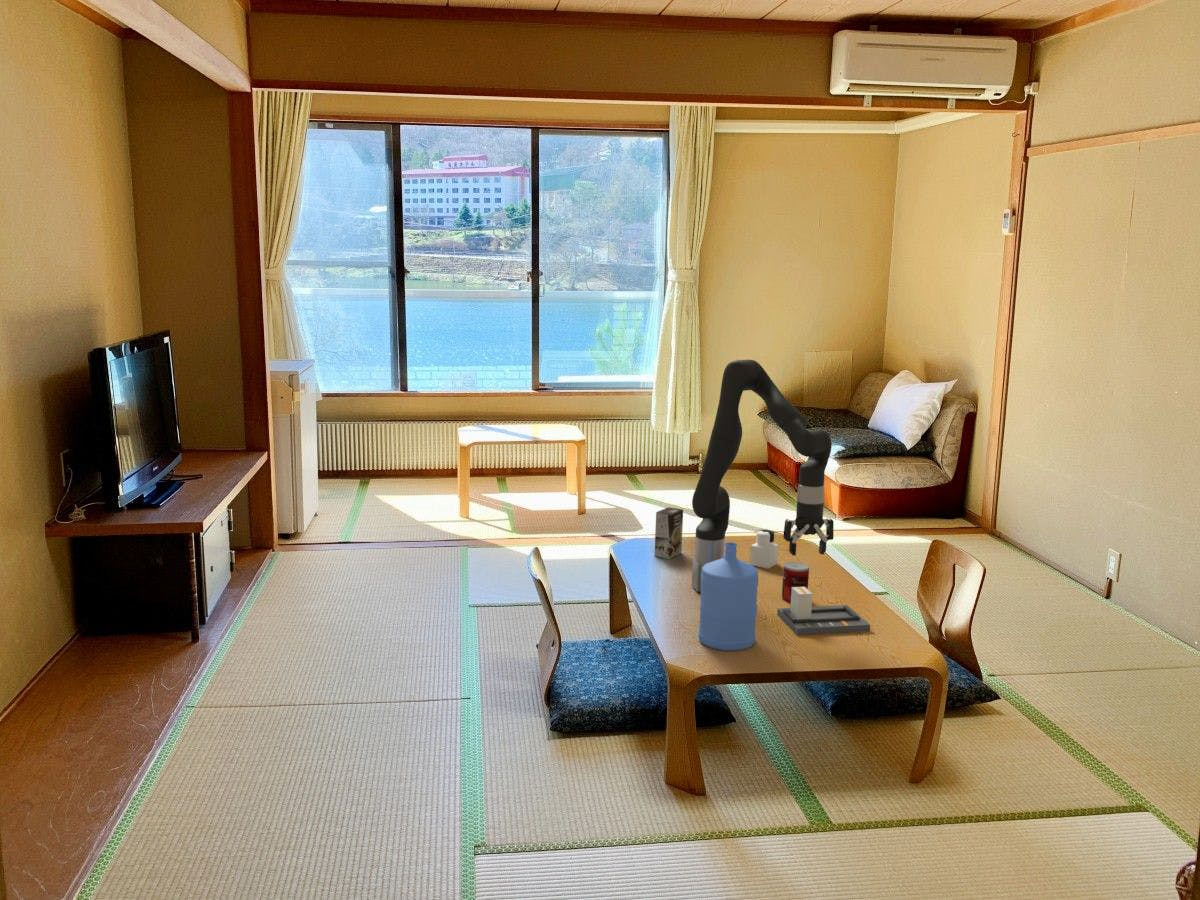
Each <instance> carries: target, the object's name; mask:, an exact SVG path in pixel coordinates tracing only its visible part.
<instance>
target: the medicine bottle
mask: <svg viewBox="0 0 1200 900" xmlns="http://www.w3.org/2000/svg"><path fill="white" fill-rule="evenodd" d="M755 534H756V538H755V543H753V544H751V545H750V558H749V559H750V560H749V564H750V565H752V566H754V567H759V568H762V569H768V570H769V569H771V568H772V567H774V566H776V565H777V564H778V563H779V562H778V561H779V560H778V557H779V544H778V543H775V533H774V531H772V530H770V529H759V530H757V531H756V533H755Z"/></svg>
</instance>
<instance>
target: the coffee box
mask: <svg viewBox="0 0 1200 900" xmlns="http://www.w3.org/2000/svg"><path fill="white" fill-rule="evenodd" d="M683 522H684V509H683V508H682V509H681V508H677V507H675V508H674V507H669V506H668V507H665V508H664V509H663V508H662V509H660V510H657V511H656V512H655V529H654V530H655V533H654V557H657V556H658V558H662V557H663V558H662V559H666V558H667V559H666V560H671V559H672V557H673V558H675V557H677V556H678V554H679V555H680V553H681V554H682V551H683V550H682V549H683V526H684V525H683ZM676 555H677V556H676ZM674 556H675V557H674ZM670 558H671V559H670Z"/></svg>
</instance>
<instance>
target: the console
mask: <svg viewBox="0 0 1200 900" xmlns="http://www.w3.org/2000/svg"><path fill="white" fill-rule="evenodd" d="M776 612H777V613H776V614H777V617H779V619H781V620H782V622H784V623H785V625H786V626H788V628H790V630H791V631H792V632H793V633H794V634H795V635H796V636H807V635H809V636H811V635H824V634H825V635H826V634H827V635H828V634H845V633H861V632H862V633H863V632H864V631H865V632H870V631H871V624H870V623H869V622H868V621H867V620H865V619H864V618H863V617H862V616H861V615H860V614H858V613H857V612H856V611H855V610H854V609H853V608H851V606H849V605H848V604H839V605H837V604H836V605H822V606H821V605H820V606H819V605H817V606H812V610H811V619H799V620H797V619H796V618H795V617H794V616H793V615H792V614H791V613H790V607H780V608H777V611H776Z"/></svg>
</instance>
